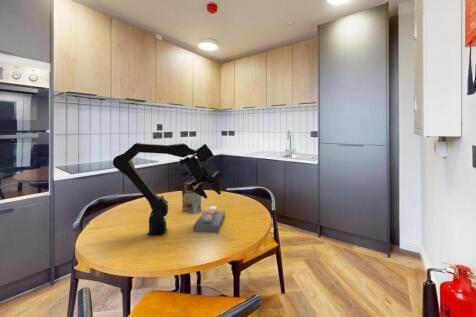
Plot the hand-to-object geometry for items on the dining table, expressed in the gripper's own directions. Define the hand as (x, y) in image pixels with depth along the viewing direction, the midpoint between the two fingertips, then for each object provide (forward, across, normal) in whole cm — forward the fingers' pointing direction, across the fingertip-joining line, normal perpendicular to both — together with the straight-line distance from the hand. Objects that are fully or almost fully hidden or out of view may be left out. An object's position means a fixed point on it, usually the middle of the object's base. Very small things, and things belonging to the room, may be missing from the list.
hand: (213, 196), depth 116 cm
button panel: (+12, +9, +3) cm, 15 cm away
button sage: (+7, +4, +7) cm, 11 cm away
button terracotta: (+8, +7, +2) cm, 11 cm away
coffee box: (+8, +30, -7) cm, 32 cm away
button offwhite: (+9, +11, -4) cm, 15 cm away
